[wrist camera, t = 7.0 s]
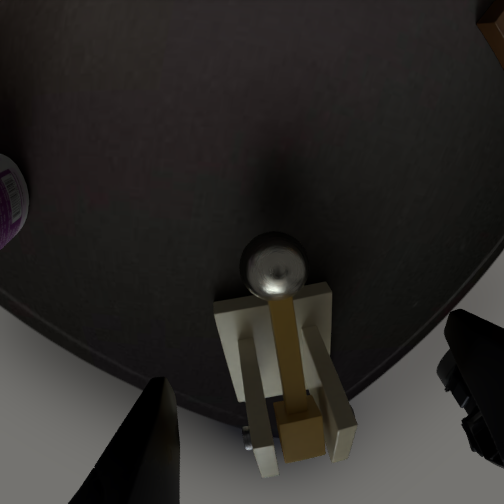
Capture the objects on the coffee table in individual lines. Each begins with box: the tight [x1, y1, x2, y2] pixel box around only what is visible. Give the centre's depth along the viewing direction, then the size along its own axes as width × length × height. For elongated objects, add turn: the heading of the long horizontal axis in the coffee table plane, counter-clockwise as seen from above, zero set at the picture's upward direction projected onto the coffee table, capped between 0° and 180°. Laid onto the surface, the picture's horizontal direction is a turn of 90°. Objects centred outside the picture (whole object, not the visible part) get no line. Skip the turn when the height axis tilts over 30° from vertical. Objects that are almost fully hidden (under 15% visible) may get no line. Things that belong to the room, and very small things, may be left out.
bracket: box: [213, 282, 357, 478], centre depth 17 cm, size 9×7×9 cm
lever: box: [239, 231, 326, 463], centre depth 15 cm, size 12×3×3 cm, turn 7°
